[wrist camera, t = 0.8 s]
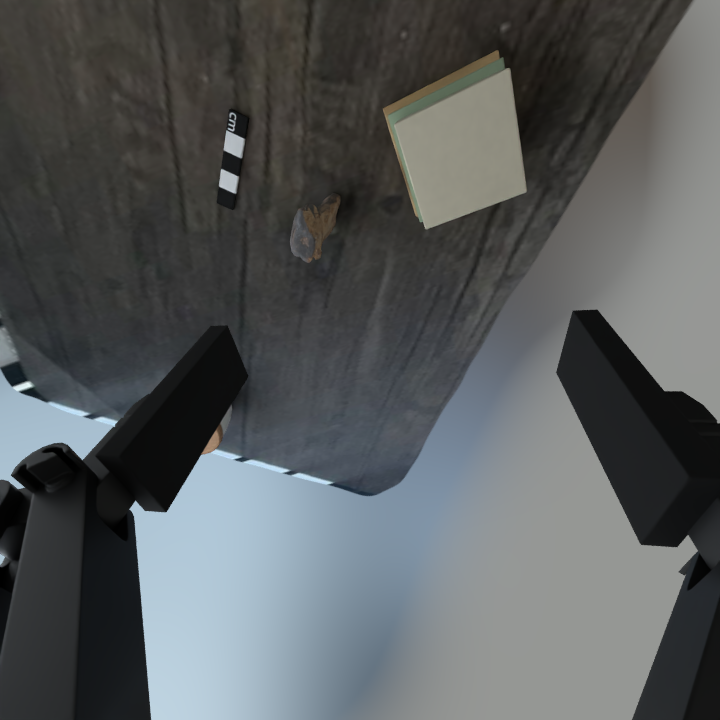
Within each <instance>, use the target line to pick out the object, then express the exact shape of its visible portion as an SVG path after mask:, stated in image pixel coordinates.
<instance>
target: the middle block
mask: <svg viewBox="0 0 720 720" xmlns="http://www.w3.org/2000/svg"><path fill="white" fill-rule="evenodd" d="M504 69H505V65H504V58H500V59H498V60H496V61H494V62H492V63H490V64H488V65H486V66H484V67H482V68H480V69H478V70H476V71H474V72H473V73H471V74H469V75H467V76H465V77H463V78H461V79H459V80H457V81H455V82H453V83H451V84H449V85H447V86H445V87H443V88H441V89H439V90H437V91H435V92H433V93H431V94H429V95H427V96H425V97H423V98H421V99H419V100H417V101H415V102H413V103H411V104H409V105H407V106H405V107H403V108H401V109H399V110H397V111H395V112H393V113H391V114H389V115H388V119H389V122H390V125H391V129H392V132H393V135H394V139H395V142H396V145H397V148H398V152H399V155H400V158H401V161H402V165H403V168H404V171H405V174H406V178H407V181H408V184H409V188H410V191H411V194H412V197H413V201H414V204H415V207H416V210H417V214H418V217H419V220H420V222H423V219H422V216H421V213H420V210H419V206H418V203H417V200H416V196H415V193H414V190H413V186H412V183H411V180H410V176H409V173H408V170H407V166H406V163H405V160H404V156H403V153H402V150H401V147H400V143H399V140H398V137H397V133H396V130H395V127H394V124H395V123H396V122H397V121H398V120H400V119H402V118H404V117H406V116H408V115H410V114H412V113H414V112H416V111H418V110H420V109H422V108H424V107H426V106H428V105H430V104H432V103H434V102H436V101H438V100H440V99H442V98H444V97H446V96H448V95H450V94H452V93H454V92H456V91H458V90H460V89H463V88H465V87H467V86H469V85H471V84H473V83H475V82H477V81H479V80H481V79H483V78H485V77H487V76H489V75H491V74H493V73H495V72H498V71H501V70H504Z"/></svg>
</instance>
